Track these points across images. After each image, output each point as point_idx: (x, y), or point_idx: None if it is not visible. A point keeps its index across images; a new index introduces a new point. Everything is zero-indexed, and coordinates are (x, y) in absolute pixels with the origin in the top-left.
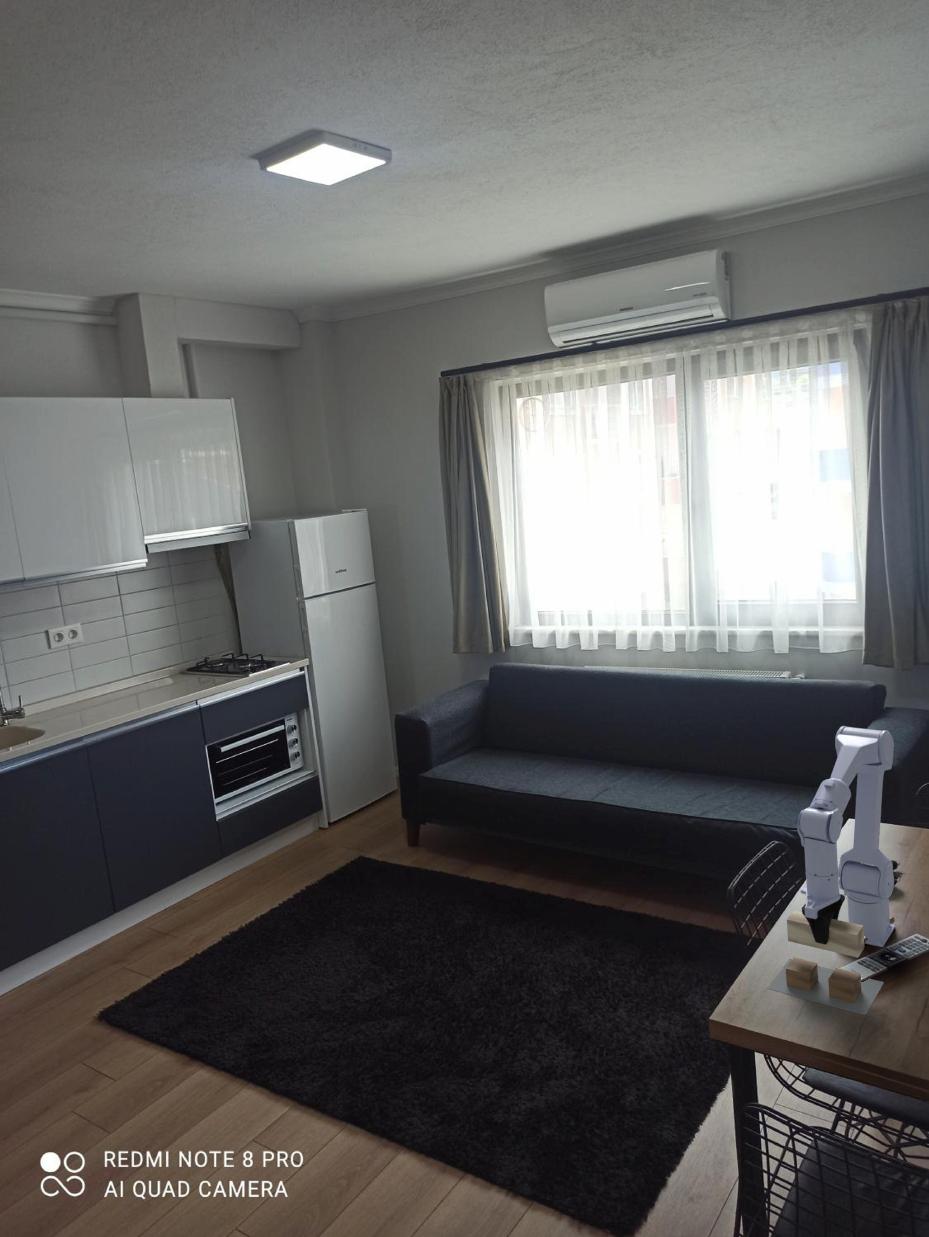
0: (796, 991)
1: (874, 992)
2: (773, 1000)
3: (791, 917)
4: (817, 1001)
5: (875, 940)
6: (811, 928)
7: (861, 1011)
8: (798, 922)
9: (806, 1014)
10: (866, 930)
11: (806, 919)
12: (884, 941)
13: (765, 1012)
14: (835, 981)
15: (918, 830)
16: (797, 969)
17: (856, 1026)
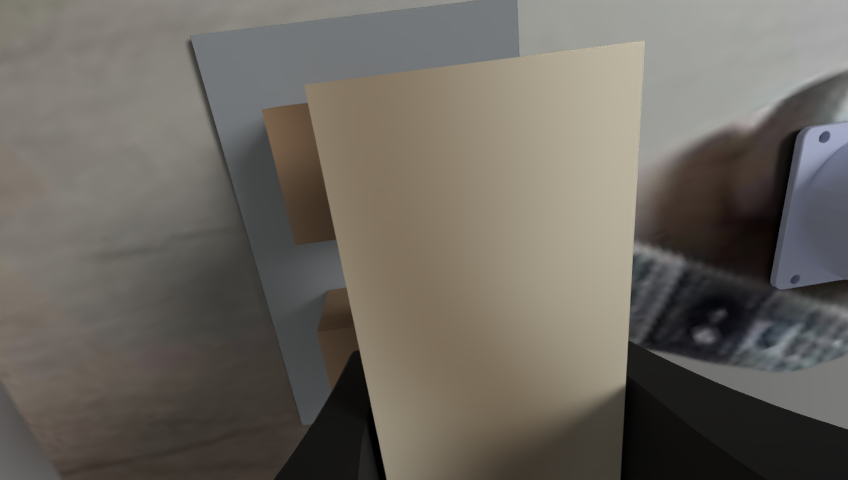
0: (269, 168)
1: None
2: (138, 109)
3: (408, 119)
4: (263, 271)
5: (806, 257)
6: (297, 448)
7: (314, 408)
8: (344, 263)
9: (160, 273)
10: (846, 248)
11: (471, 310)
12: (808, 283)
13: (22, 127)
14: (324, 360)
15: None
16: (298, 171)
17: (230, 424)
